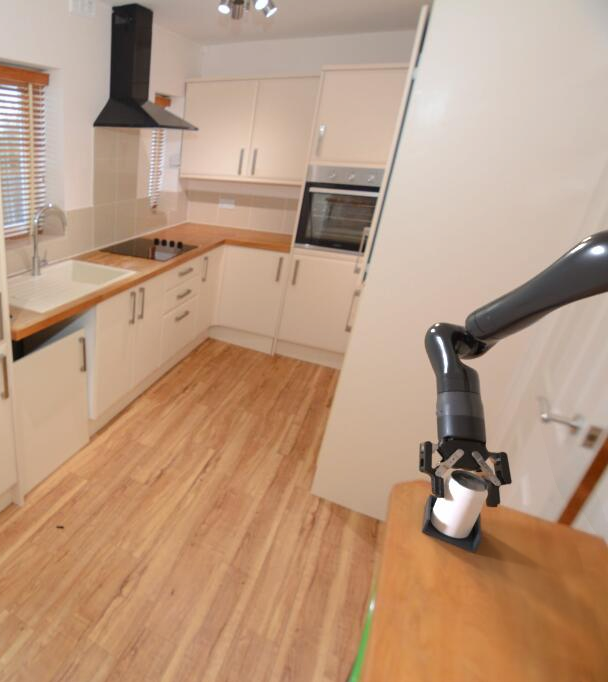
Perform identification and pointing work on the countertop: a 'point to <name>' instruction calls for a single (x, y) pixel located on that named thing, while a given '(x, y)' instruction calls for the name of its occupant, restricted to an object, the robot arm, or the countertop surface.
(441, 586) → the countertop surface
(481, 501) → the can
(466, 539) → the tray
